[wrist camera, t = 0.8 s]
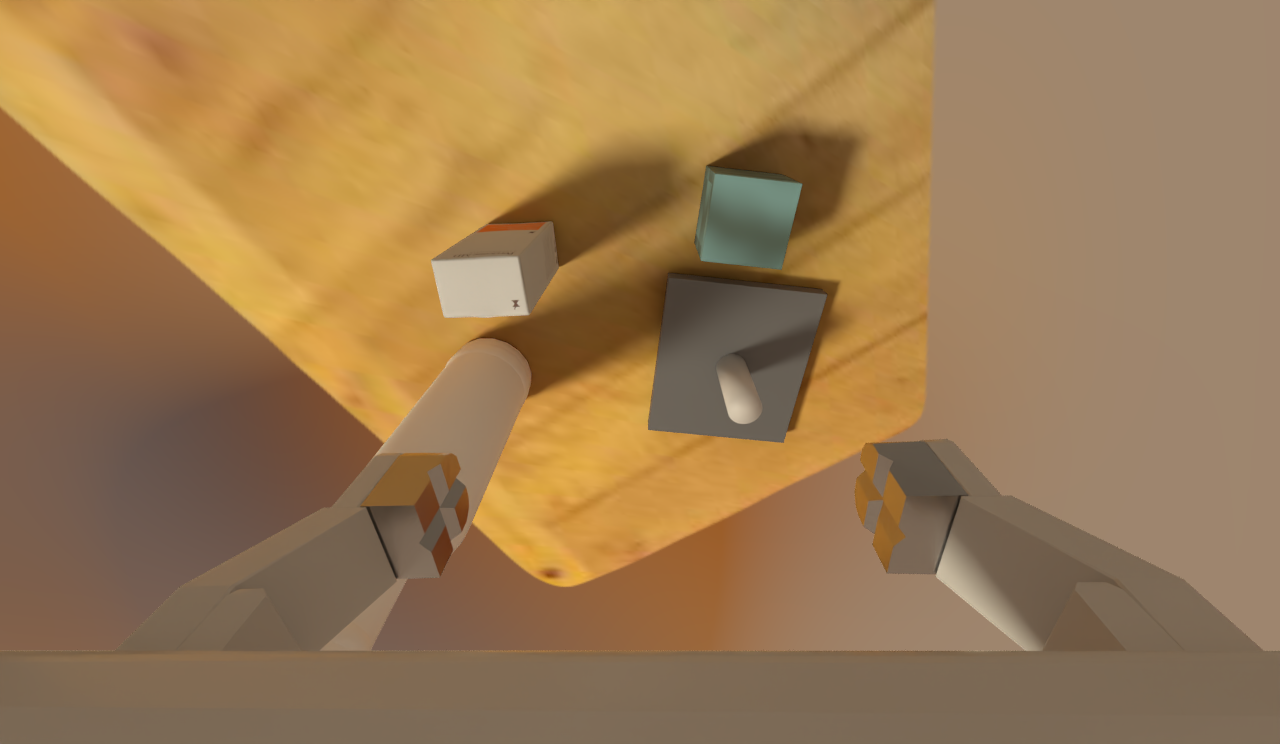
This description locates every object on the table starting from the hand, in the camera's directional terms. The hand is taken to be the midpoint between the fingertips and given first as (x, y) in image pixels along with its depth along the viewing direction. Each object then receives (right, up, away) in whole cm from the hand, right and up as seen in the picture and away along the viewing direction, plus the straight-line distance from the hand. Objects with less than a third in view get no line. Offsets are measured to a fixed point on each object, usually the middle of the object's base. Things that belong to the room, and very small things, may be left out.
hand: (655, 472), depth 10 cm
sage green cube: (+8, +16, +31) cm, 36 cm away
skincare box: (-11, +13, +33) cm, 37 cm away
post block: (+8, +3, +38) cm, 39 cm away
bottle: (-15, +2, +39) cm, 42 cm away
